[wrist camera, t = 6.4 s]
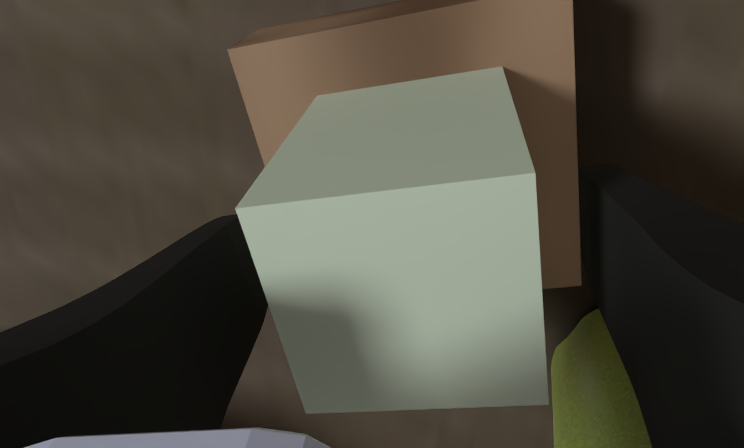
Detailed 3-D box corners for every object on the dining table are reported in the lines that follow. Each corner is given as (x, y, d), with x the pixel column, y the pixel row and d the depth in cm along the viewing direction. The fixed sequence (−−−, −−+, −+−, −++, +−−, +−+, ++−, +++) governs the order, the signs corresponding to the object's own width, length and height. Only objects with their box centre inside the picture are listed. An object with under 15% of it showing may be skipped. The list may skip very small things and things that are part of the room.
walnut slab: (329, 256, 20) (310, 309, 17) (263, 26, 16) (227, 49, 13) (563, 231, 18) (581, 285, 16) (551, -33, 14) (572, -19, 12)
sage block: (354, 248, 16) (306, 413, 11) (316, 95, 14) (235, 208, 9) (515, 232, 15) (549, 404, 10) (501, 66, 13) (535, 172, 8)
